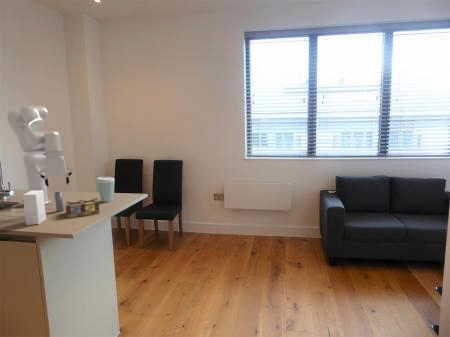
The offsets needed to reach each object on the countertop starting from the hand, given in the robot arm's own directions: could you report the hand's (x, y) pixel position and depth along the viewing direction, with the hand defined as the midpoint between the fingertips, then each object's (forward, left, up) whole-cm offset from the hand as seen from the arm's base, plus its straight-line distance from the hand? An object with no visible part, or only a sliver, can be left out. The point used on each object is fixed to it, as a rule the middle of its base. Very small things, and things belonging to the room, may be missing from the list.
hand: (57, 185), depth 174 cm
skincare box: (-10, -15, -15) cm, 24 cm away
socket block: (+11, -10, -15) cm, 21 cm away
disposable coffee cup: (+26, +11, -15) cm, 32 cm away
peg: (0, +1, -15) cm, 15 cm away
